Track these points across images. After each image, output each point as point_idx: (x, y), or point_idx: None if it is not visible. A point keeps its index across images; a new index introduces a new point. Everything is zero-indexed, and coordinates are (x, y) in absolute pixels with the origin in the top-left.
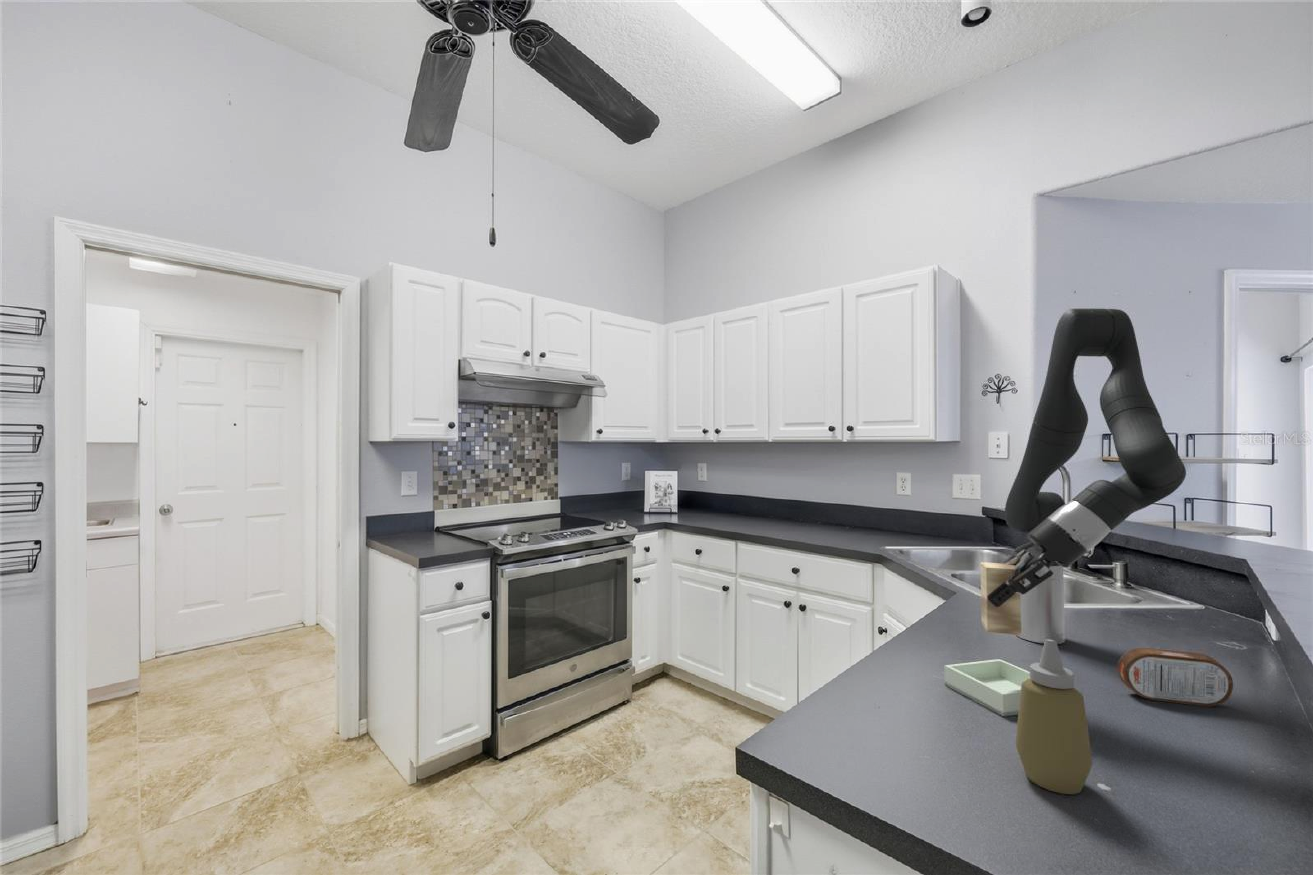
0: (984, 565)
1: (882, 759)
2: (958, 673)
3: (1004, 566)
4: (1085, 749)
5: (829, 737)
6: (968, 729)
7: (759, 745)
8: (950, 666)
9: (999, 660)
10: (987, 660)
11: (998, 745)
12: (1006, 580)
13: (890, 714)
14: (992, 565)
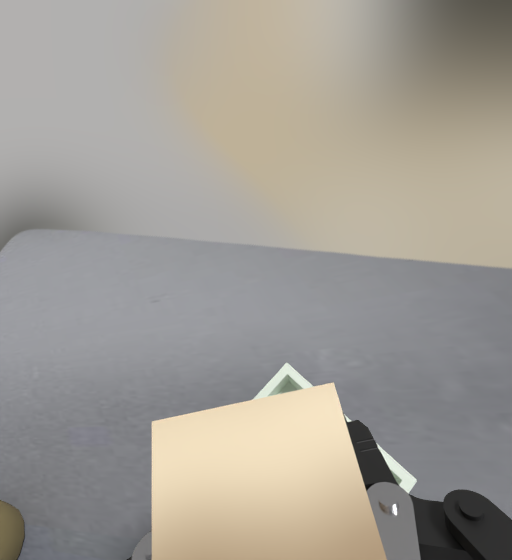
0: (218, 410)
1: (21, 332)
2: (261, 391)
3: (242, 558)
4: None
5: (59, 276)
6: (125, 420)
7: (30, 232)
8: (287, 373)
9: (404, 479)
10: (382, 449)
11: (85, 466)
12: (147, 545)
13: (137, 318)
14: (244, 462)
